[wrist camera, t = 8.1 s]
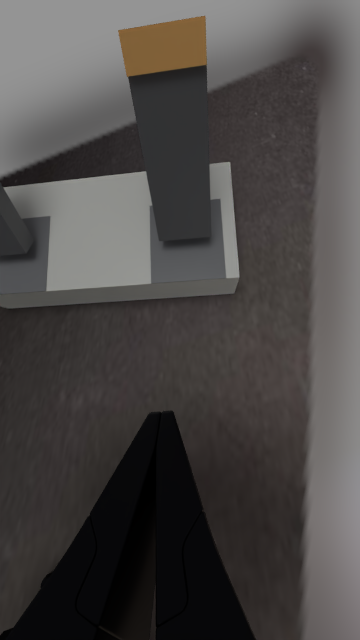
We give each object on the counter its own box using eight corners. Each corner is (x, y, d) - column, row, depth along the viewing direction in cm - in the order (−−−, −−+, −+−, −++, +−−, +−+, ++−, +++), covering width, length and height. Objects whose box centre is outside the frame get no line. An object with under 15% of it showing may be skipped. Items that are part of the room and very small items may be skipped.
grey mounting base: (234, 293, 22) (239, 276, 18) (8, 308, 24) (-32, 296, 20) (226, 195, 24) (229, 160, 20) (15, 217, 26) (-20, 189, 22)
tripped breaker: (211, 238, 18) (205, 15, 11) (158, 243, 18) (118, 30, 11) (210, 222, 19) (203, 17, 12) (161, 227, 19) (127, 30, 12)
